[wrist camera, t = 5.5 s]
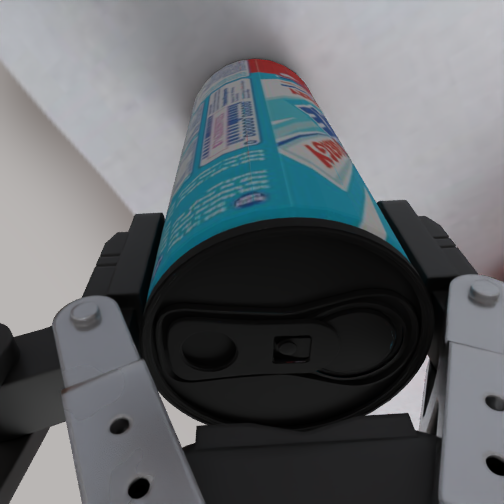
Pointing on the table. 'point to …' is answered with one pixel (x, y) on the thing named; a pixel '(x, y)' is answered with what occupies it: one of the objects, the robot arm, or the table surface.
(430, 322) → the beverage can
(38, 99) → the table surface
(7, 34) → the table surface
